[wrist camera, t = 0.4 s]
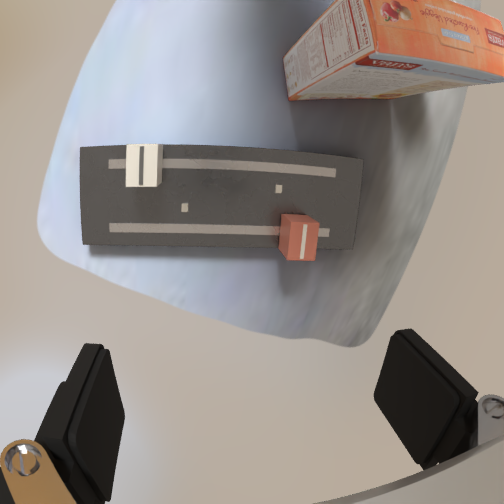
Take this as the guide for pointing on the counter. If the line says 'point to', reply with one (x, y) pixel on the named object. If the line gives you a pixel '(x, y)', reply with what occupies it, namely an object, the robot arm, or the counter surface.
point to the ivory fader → (144, 165)
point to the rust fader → (298, 237)
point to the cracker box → (394, 50)
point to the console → (218, 197)
